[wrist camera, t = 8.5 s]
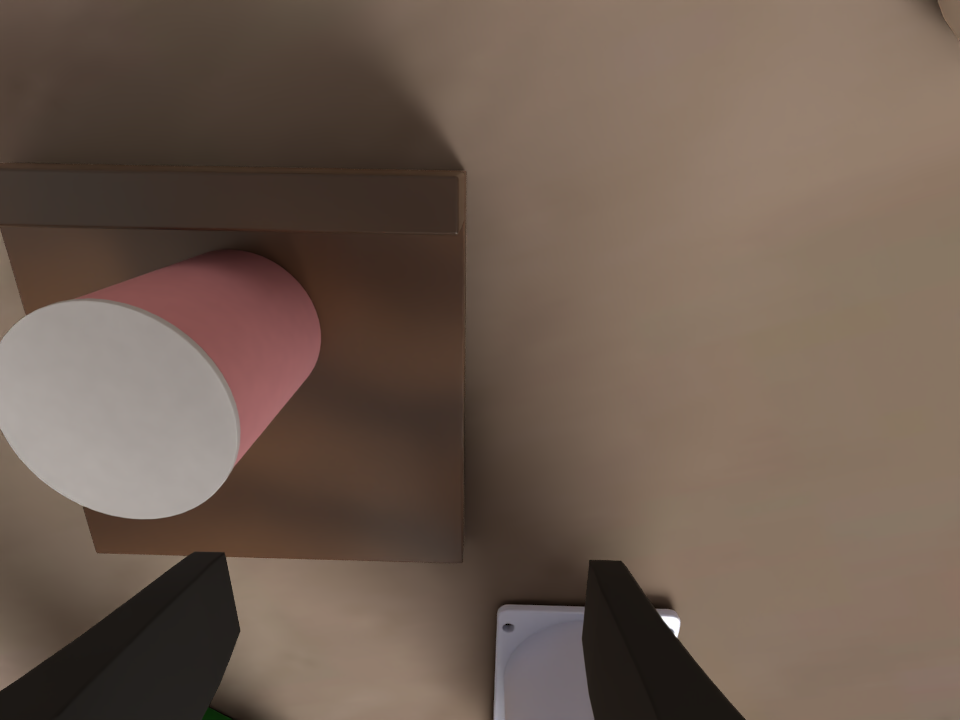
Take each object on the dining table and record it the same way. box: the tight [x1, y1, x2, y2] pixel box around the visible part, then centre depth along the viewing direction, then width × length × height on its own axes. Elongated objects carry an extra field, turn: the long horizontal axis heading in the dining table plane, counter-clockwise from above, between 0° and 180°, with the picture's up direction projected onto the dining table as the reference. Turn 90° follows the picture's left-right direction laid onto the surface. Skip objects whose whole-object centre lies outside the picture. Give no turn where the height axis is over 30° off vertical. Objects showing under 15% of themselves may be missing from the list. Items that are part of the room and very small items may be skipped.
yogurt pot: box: [0, 249, 321, 519], centre depth 15 cm, size 6×6×7 cm
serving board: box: [0, 163, 466, 563], centre depth 18 cm, size 15×15×4 cm
